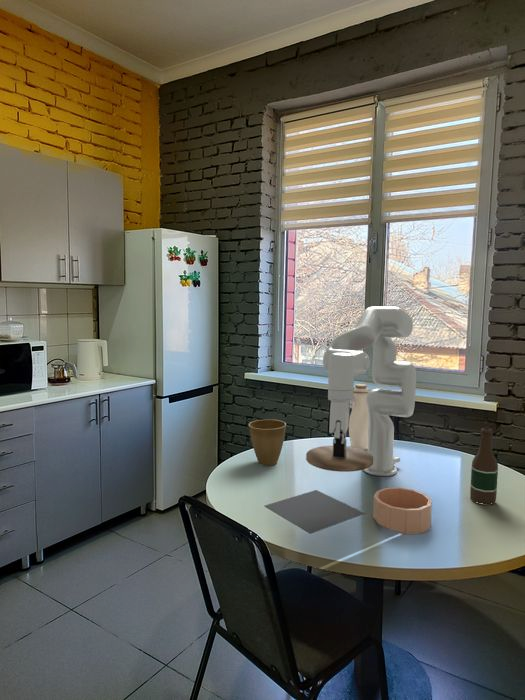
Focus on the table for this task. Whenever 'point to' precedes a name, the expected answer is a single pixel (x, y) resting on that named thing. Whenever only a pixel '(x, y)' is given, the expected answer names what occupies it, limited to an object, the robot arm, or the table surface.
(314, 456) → the lid
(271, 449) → the plant pot
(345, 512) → the mat
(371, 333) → the robot arm
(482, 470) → the beer bottle
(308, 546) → the table surface
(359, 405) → the water bottle
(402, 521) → the bowl
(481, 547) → the table surface
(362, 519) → the table surface
